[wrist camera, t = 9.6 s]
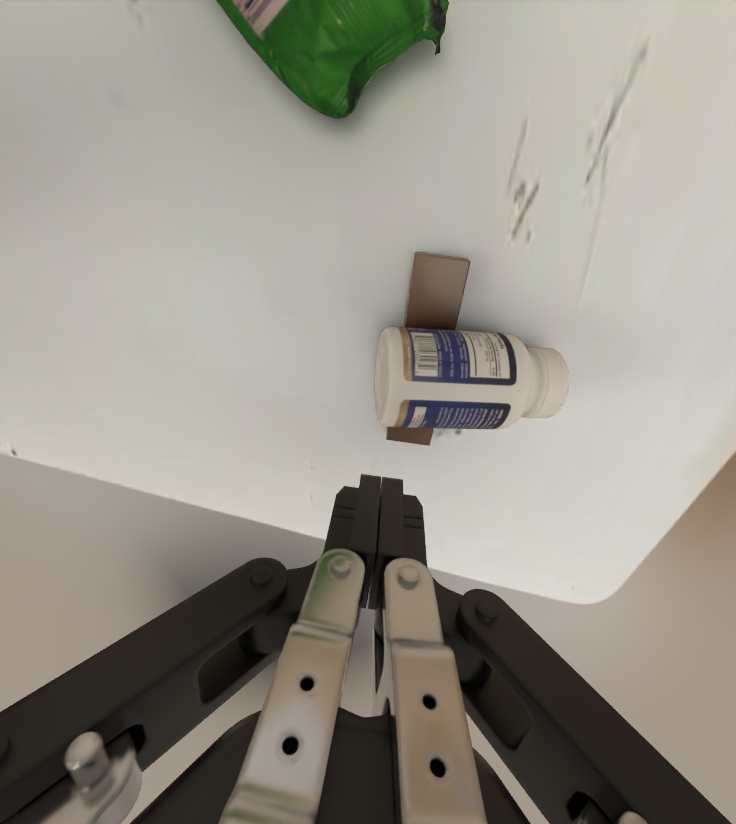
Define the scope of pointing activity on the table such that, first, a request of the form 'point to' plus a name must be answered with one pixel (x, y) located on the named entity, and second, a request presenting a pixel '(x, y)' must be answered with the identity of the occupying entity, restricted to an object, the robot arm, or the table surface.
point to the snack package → (334, 42)
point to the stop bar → (432, 312)
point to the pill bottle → (464, 379)
